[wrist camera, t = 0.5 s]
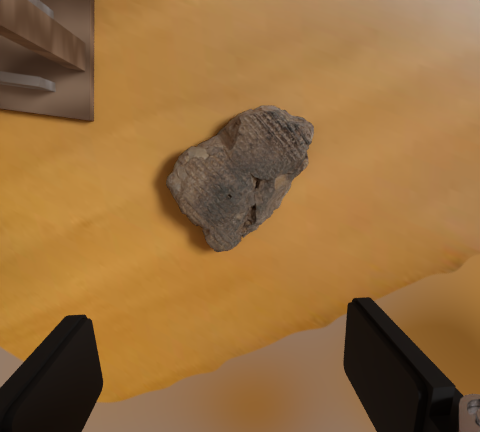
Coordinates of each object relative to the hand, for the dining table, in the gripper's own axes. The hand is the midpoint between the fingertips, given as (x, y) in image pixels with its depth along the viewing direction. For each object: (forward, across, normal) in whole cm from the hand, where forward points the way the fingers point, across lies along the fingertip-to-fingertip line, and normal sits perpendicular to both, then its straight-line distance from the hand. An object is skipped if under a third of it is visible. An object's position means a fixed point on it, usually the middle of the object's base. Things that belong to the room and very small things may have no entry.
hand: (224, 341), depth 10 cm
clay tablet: (+30, -3, -3) cm, 31 cm away
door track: (+30, +25, -19) cm, 43 cm away
